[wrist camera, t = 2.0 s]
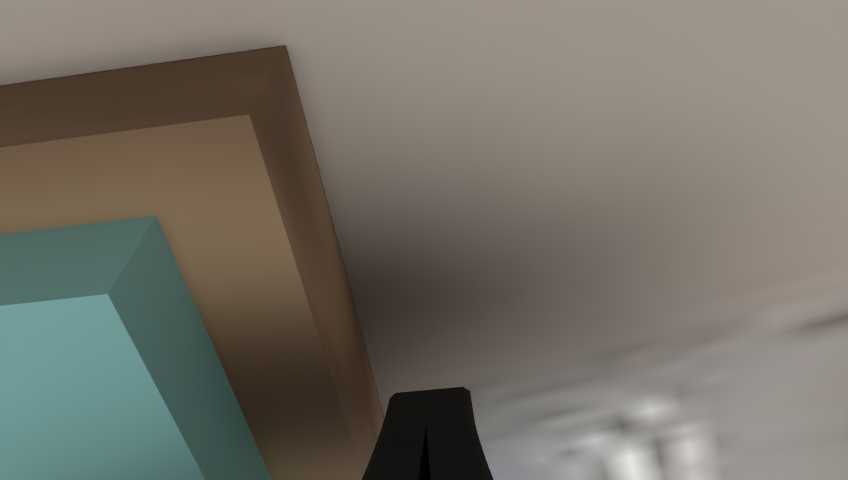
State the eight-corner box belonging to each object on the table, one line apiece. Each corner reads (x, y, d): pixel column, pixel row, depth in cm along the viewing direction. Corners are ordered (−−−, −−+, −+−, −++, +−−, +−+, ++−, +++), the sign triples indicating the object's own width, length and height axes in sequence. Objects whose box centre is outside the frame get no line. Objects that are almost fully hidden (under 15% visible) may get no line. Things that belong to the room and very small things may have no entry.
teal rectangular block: (295, 533, 16) (279, 620, 14) (56, 551, 17) (14, 637, 15) (156, 215, 11) (107, 294, 9) (-182, 255, 12) (-283, 336, 10)
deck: (395, 460, 19) (389, 562, 17) (-64, 498, 20) (-132, 598, 18) (285, 45, 12) (249, 114, 10) (-389, 141, 14) (-570, 222, 11)
